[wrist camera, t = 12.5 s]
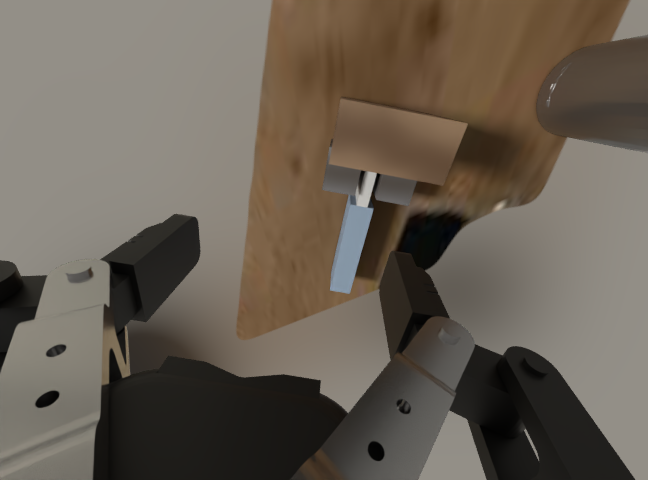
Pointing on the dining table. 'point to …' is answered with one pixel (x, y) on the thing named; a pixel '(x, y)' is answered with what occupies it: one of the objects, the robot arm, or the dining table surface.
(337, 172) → the brown and grey stand
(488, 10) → the dining table surface
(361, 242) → the blue and white bar
